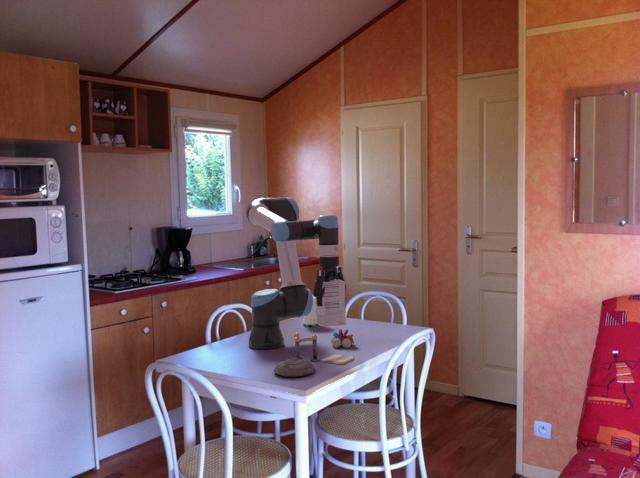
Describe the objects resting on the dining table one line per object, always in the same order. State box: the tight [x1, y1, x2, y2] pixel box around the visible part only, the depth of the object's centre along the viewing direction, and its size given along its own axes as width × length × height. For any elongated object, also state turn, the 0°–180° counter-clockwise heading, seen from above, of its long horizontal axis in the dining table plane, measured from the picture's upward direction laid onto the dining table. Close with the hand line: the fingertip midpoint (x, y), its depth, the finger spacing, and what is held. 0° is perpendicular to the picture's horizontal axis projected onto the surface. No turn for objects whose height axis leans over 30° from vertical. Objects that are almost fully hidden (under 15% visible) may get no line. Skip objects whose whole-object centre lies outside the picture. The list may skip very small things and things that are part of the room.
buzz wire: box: [292, 332, 321, 363], centre depth 235 cm, size 12×10×10 cm
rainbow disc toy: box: [330, 328, 355, 349], centre depth 256 cm, size 8×10×7 cm
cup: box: [302, 296, 320, 328], centre depth 297 cm, size 11×11×14 cm
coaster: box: [321, 353, 355, 366], centre depth 235 cm, size 9×9×1 cm
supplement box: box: [315, 279, 347, 328], centre depth 233 cm, size 10×9×17 cm
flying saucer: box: [273, 357, 316, 378], centre depth 220 cm, size 15×15×6 cm
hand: (330, 311), depth 233 cm, fingers closed on supplement box, 13 cm apart
